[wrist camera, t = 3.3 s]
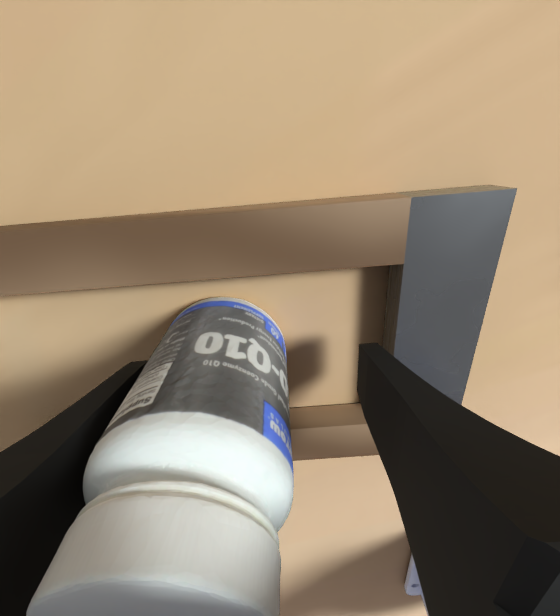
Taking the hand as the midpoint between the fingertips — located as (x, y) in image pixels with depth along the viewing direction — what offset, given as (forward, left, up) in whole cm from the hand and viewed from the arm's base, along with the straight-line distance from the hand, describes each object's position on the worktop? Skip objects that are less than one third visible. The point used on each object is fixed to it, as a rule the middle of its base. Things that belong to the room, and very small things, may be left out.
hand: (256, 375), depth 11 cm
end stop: (0, -7, -2) cm, 7 cm away
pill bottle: (0, +1, -2) cm, 2 cm away
